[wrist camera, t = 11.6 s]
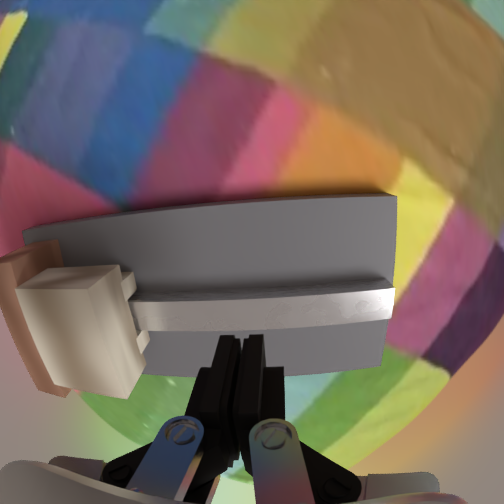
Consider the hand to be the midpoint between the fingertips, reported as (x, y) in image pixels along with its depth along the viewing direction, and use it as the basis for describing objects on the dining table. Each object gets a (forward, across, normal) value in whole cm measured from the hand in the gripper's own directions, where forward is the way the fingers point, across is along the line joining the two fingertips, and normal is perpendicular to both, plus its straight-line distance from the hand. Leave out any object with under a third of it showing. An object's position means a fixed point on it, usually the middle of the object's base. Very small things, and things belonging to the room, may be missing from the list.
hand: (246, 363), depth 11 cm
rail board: (+8, +4, +1) cm, 9 cm away
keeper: (+6, +10, +1) cm, 12 cm away
